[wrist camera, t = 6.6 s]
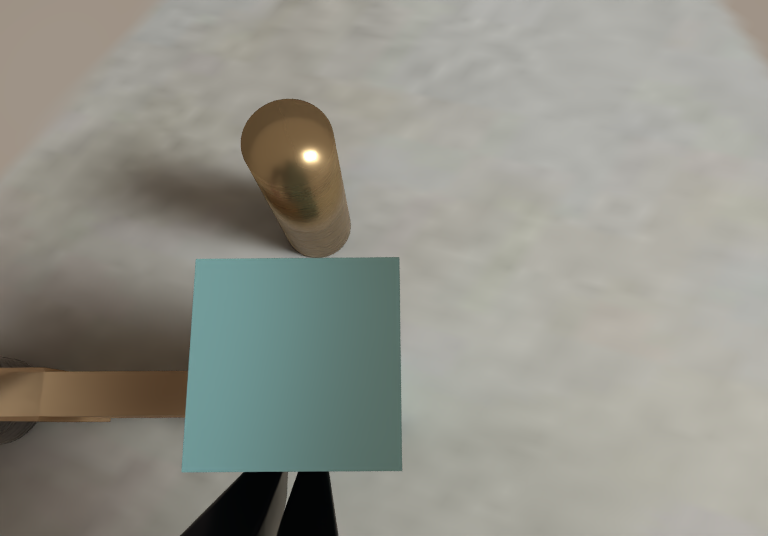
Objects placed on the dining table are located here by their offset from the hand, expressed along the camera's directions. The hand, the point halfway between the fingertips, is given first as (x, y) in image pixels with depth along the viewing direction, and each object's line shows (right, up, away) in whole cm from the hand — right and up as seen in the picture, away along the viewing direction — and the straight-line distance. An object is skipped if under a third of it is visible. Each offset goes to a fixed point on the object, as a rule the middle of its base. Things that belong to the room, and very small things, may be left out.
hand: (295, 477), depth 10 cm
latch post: (-1, +4, +10) cm, 11 cm away
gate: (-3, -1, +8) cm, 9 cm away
